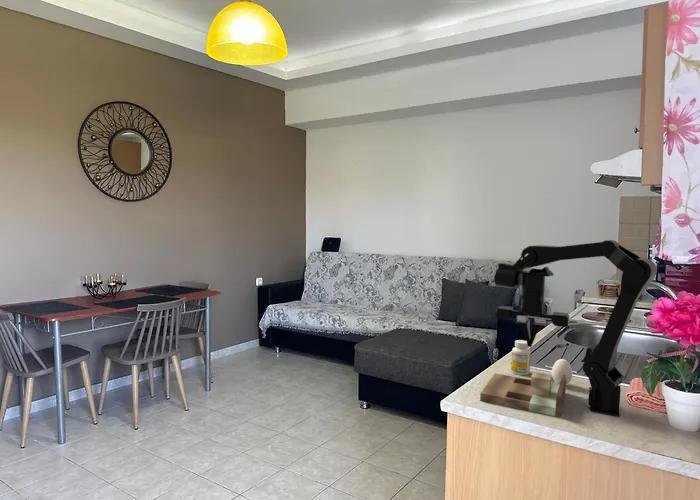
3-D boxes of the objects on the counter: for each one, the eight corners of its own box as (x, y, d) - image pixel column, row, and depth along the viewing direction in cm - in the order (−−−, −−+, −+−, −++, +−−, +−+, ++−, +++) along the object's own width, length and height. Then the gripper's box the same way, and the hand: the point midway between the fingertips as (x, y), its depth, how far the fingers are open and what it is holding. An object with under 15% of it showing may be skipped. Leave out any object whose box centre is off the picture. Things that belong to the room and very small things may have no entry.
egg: (572, 384, 137) (573, 358, 136) (570, 390, 132) (572, 363, 132) (552, 380, 140) (553, 355, 139) (550, 386, 135) (551, 360, 134)
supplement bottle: (518, 368, 150) (520, 338, 149) (533, 373, 145) (535, 342, 144) (507, 371, 147) (508, 340, 146) (521, 376, 142) (523, 344, 142)
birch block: (550, 391, 126) (551, 374, 125) (548, 396, 122) (550, 379, 121) (532, 387, 128) (533, 371, 127) (530, 393, 124) (531, 376, 123)
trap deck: (565, 392, 130) (566, 375, 130) (559, 417, 114) (560, 397, 114) (494, 379, 139) (495, 363, 139) (480, 400, 123) (480, 381, 123)
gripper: (572, 290, 133) (568, 344, 134) (503, 284, 142) (500, 335, 143) (569, 296, 123) (565, 354, 125) (496, 289, 132) (493, 343, 133)
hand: (529, 346), depth 132 cm, fingers closed
